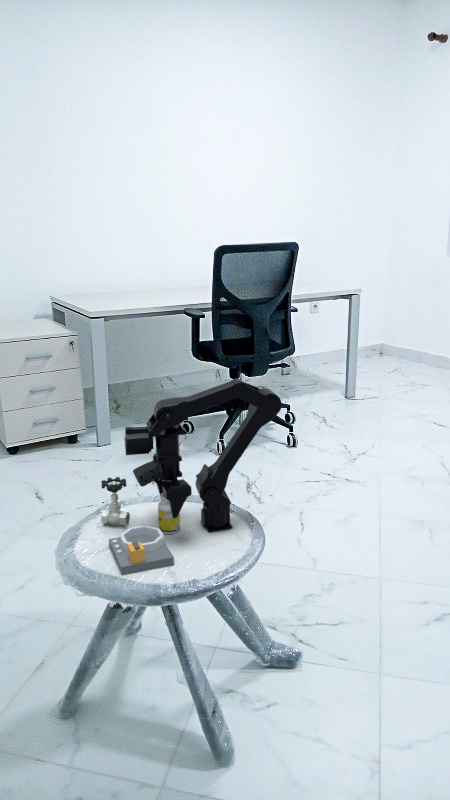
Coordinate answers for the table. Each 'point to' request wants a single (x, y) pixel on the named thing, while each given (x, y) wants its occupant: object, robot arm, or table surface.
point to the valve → (114, 504)
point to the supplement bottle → (167, 517)
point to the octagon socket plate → (153, 546)
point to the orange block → (136, 552)
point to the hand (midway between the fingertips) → (169, 510)
